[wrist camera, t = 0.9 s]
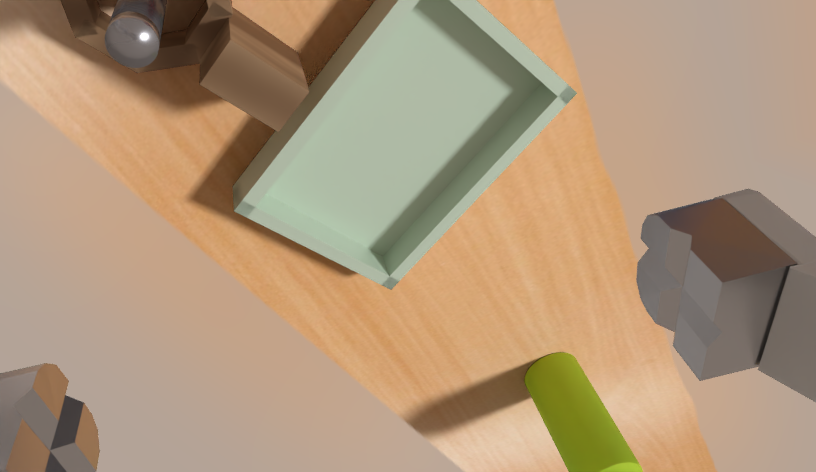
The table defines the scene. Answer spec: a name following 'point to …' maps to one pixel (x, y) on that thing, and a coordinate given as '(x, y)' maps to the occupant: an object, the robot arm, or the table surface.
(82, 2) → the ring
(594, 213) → the table surface
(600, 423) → the soap dispenser
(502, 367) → the table surface
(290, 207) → the tray
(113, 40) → the dark grey metal cylinder
